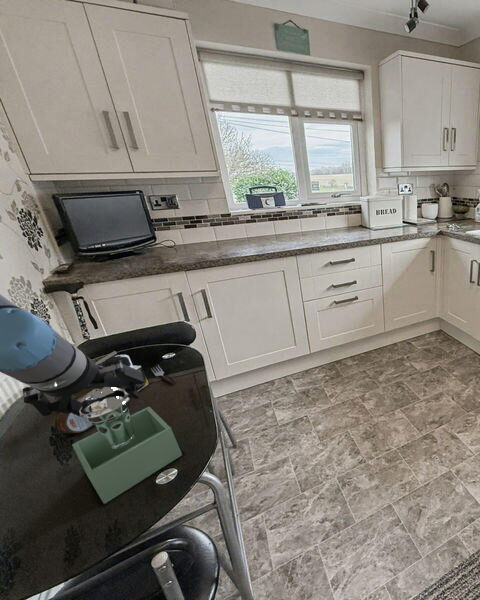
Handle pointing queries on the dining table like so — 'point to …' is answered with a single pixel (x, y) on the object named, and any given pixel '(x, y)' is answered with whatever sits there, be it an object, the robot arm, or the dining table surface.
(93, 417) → the cup with straw
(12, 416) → the dining table surface
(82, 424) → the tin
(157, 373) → the fork
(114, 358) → the medicine bottle
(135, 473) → the bin
